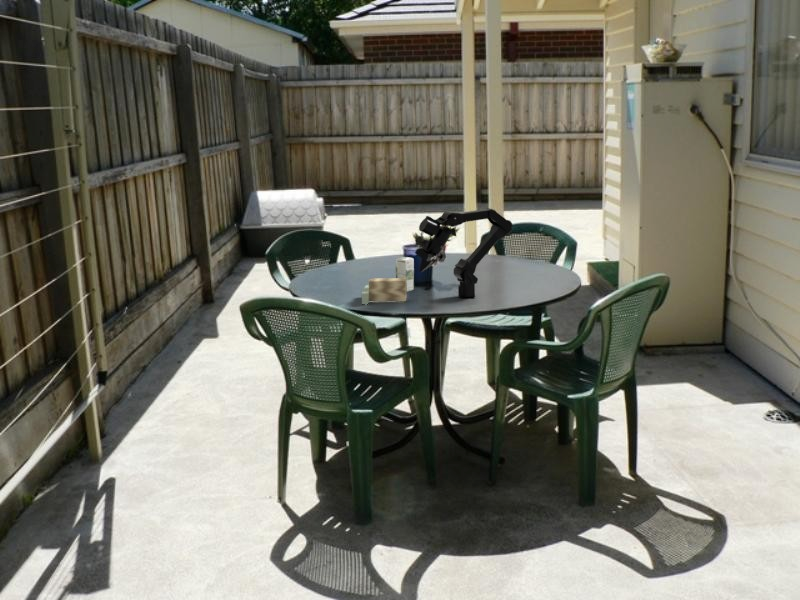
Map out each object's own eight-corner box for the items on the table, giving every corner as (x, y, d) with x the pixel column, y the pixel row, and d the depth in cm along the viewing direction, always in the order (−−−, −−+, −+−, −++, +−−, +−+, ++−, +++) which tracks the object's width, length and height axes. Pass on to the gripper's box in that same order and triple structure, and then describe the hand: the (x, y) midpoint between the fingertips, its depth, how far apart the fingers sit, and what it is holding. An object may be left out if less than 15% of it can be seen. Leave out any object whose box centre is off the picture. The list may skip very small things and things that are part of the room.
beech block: (406, 299, 364) (406, 278, 362) (405, 302, 358) (405, 281, 356) (371, 299, 365) (370, 278, 363) (369, 302, 360) (368, 281, 358)
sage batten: (372, 296, 370) (371, 285, 369) (368, 305, 354) (367, 293, 353) (366, 296, 370) (365, 285, 369) (362, 305, 355) (361, 293, 353)
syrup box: (404, 288, 384) (403, 256, 380) (414, 290, 380) (413, 257, 377) (395, 291, 379) (395, 258, 376) (406, 292, 376) (405, 259, 372)
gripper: (434, 229, 367) (415, 260, 371) (415, 228, 350) (395, 260, 355) (454, 244, 363) (435, 275, 368) (436, 243, 346) (416, 276, 351)
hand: (420, 271), depth 360 cm, fingers closed
